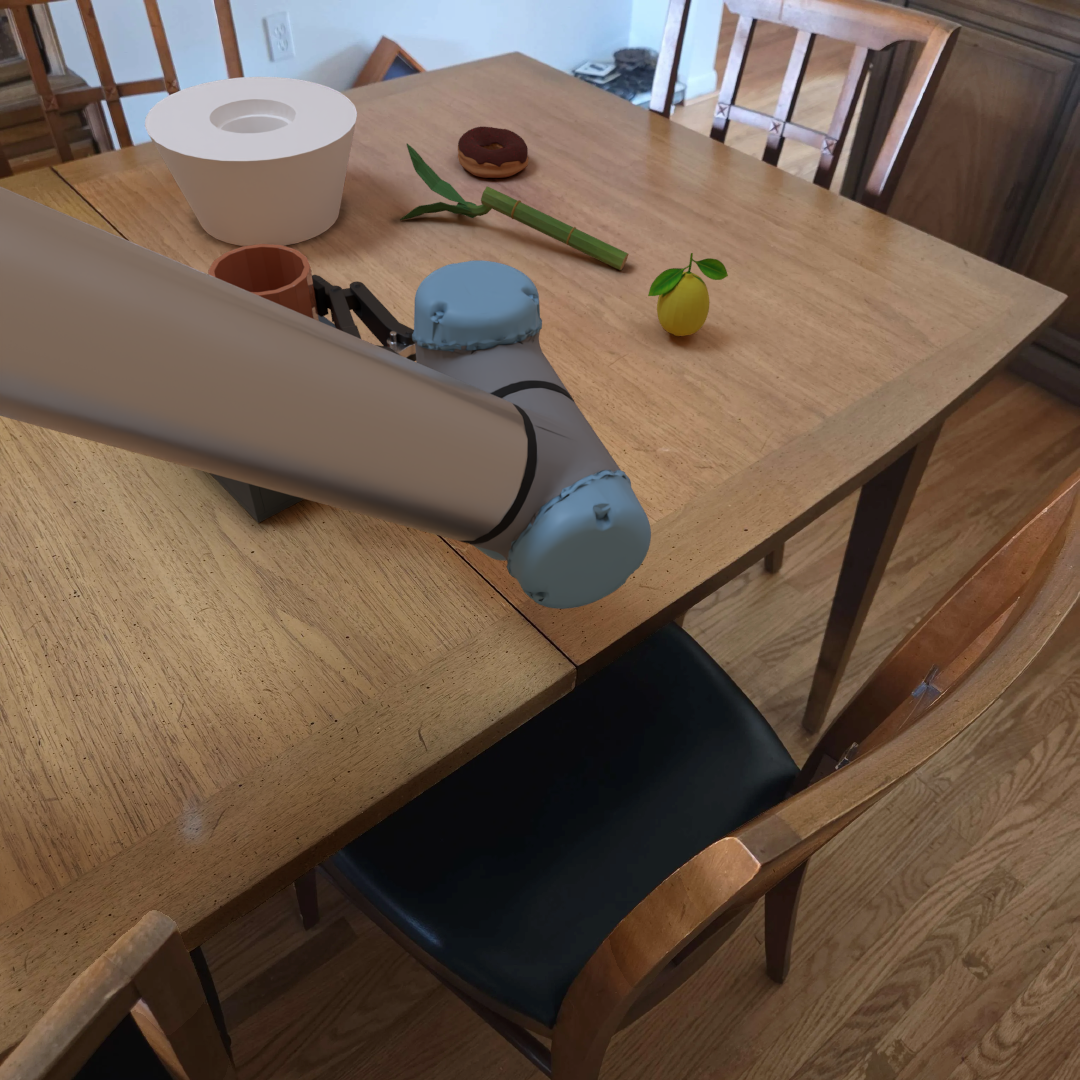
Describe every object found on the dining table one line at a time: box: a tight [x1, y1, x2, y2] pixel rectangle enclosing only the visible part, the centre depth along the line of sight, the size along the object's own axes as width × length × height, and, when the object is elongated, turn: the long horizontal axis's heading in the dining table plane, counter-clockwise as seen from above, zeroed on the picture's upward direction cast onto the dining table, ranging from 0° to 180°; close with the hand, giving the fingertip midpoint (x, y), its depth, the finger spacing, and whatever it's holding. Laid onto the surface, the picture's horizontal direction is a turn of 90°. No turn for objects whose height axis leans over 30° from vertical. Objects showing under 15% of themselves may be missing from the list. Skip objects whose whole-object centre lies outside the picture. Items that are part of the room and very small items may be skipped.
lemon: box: [647, 252, 729, 337], centre depth 98 cm, size 7×6×10 cm
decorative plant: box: [399, 143, 629, 271], centre depth 113 cm, size 6×8×30 cm
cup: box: [207, 244, 319, 321], centre depth 79 cm, size 8×8×10 cm
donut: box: [457, 126, 530, 179], centre depth 127 cm, size 10×10×4 cm
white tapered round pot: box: [144, 76, 358, 247], centre depth 113 cm, size 24×24×12 cm
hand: (238, 287), depth 81 cm, fingers closed on cup, 8 cm apart
